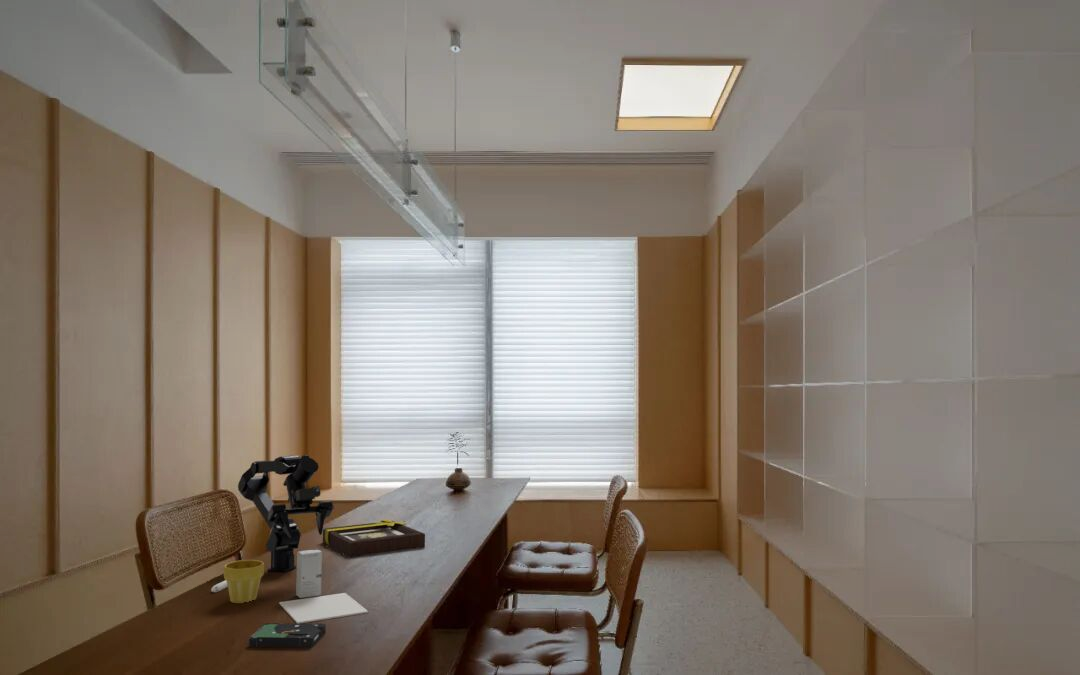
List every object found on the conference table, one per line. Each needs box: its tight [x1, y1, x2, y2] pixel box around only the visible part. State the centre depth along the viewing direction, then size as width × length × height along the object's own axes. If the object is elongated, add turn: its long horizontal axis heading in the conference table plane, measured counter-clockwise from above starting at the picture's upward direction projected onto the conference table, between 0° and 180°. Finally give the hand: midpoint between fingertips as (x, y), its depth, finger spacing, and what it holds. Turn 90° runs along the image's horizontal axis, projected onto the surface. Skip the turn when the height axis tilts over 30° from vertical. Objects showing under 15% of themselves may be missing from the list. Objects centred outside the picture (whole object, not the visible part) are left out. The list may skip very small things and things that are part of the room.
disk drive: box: [248, 622, 327, 648], centre depth 181 cm, size 10×3×15 cm
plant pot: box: [223, 559, 265, 604], centre depth 213 cm, size 10×10×10 cm
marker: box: [210, 579, 228, 593], centre depth 228 cm, size 18×2×2 cm, turn 172°
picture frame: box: [322, 518, 426, 558], centre depth 284 cm, size 28×7×30 cm
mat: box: [279, 592, 369, 624], centre depth 205 cm, size 20×18×1 cm
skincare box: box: [295, 549, 323, 599], centre depth 218 cm, size 6×4×12 cm
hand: (306, 535), depth 233 cm, fingers open, 9 cm apart
